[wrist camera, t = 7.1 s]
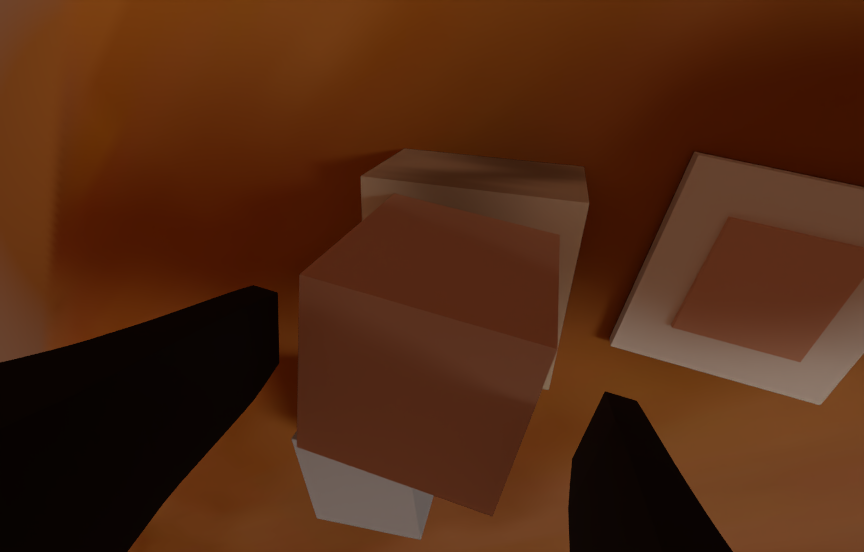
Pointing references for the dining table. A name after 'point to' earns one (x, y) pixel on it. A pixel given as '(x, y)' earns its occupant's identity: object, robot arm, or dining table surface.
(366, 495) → the grey painted block
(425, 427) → the terracotta block
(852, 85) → the dining table surface
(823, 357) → the tile
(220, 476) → the dining table surface
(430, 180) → the birch base block
